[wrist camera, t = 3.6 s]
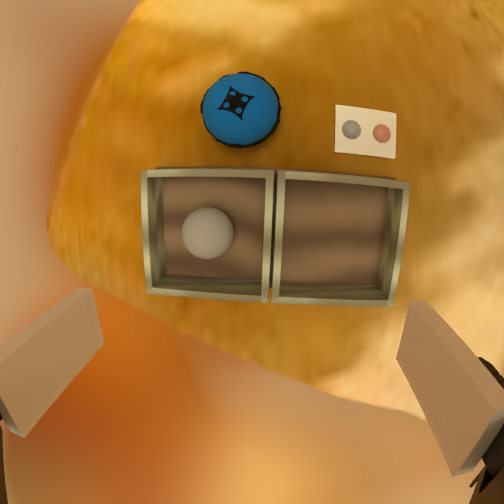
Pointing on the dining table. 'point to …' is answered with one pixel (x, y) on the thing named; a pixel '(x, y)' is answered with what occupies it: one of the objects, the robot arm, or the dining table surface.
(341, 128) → the card
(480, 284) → the dining table surface
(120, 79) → the dining table surface
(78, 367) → the robot arm
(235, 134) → the ornament
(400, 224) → the two-compartment wooden tray
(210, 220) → the ball
